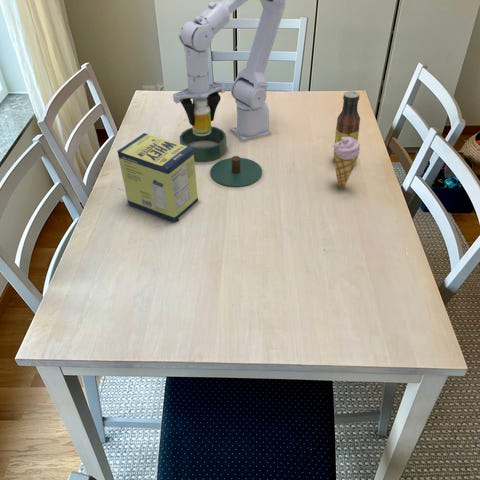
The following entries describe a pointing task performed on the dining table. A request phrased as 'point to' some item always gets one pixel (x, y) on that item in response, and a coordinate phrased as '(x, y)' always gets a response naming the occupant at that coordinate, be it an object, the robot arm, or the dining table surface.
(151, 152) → the protein box
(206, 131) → the supplement bottle
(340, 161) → the ice cream cone
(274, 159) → the dining table surface
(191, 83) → the robot arm
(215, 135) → the pot
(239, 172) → the lid
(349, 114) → the sauce bottle
